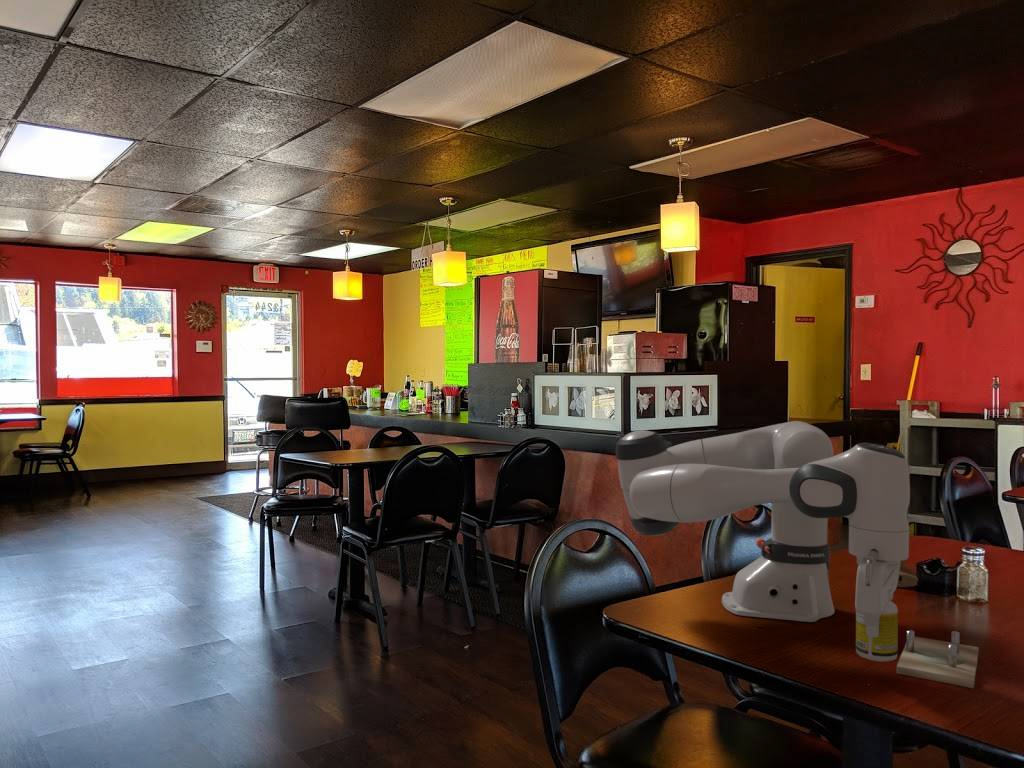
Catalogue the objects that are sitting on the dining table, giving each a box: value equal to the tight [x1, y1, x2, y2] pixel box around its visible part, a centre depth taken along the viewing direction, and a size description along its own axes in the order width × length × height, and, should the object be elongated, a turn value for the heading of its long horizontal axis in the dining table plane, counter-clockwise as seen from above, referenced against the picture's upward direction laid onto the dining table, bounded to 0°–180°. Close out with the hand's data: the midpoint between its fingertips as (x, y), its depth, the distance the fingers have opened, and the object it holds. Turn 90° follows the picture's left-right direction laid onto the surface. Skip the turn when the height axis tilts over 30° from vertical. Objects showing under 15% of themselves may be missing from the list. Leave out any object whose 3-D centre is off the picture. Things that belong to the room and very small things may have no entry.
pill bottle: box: [855, 585, 899, 663], centre depth 128 cm, size 6×6×11 cm
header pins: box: [905, 629, 961, 667], centre depth 135 cm, size 9×8×4 cm
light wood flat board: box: [895, 635, 979, 689], centre depth 134 cm, size 18×11×1 cm, turn 147°
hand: (876, 629), depth 128 cm, fingers closed on pill bottle, 6 cm apart
